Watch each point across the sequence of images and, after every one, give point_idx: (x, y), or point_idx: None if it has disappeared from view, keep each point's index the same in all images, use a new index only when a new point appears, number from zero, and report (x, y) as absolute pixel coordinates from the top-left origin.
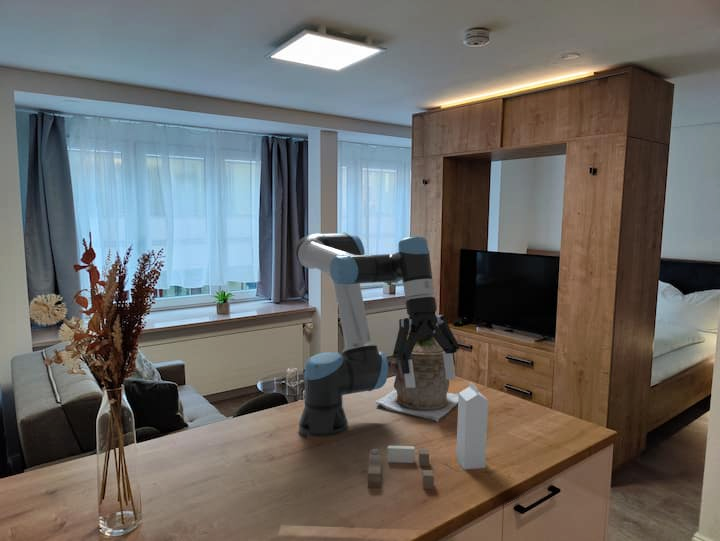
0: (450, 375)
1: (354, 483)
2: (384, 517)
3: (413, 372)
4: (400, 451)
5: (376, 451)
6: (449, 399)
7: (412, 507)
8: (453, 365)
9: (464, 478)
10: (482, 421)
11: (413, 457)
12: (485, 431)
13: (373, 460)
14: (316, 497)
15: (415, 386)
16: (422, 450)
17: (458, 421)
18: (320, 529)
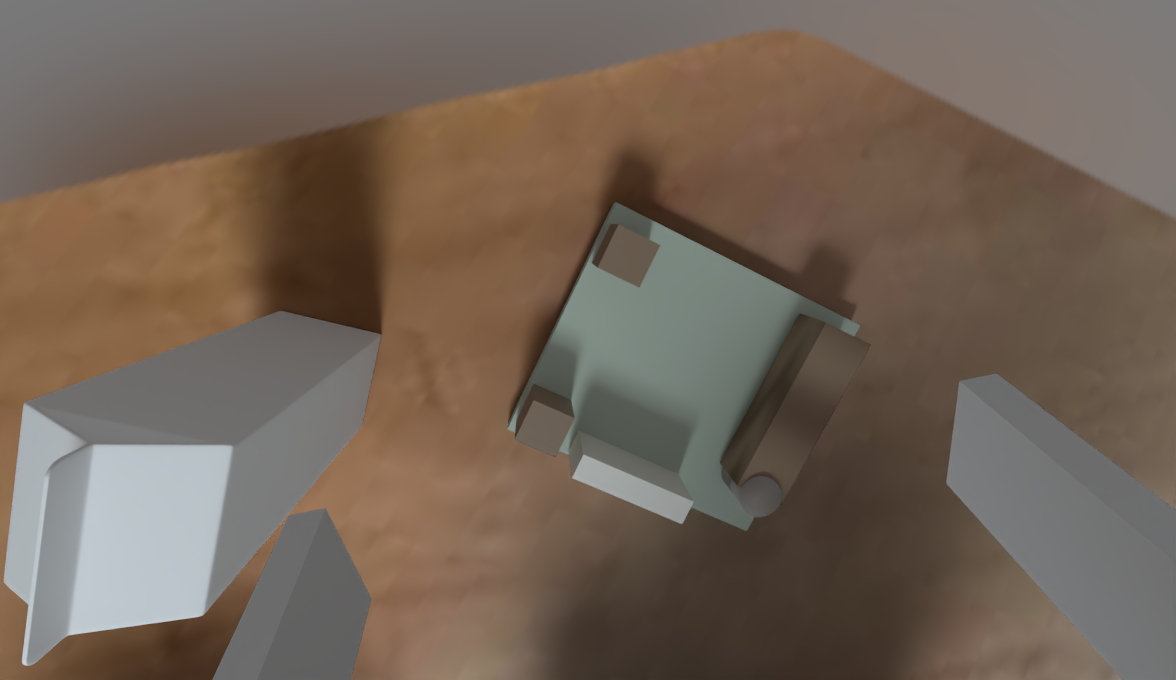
0: (330, 584)
1: (844, 404)
2: (851, 166)
3: (1105, 501)
4: (639, 474)
5: (755, 493)
6: None
7: (728, 179)
8: (227, 675)
9: (420, 274)
10: (180, 366)
11: (583, 440)
12: (193, 346)
13: (799, 433)
14: (1001, 371)
15: (966, 384)
16: (545, 440)
17: (298, 491)
18: (1068, 194)
